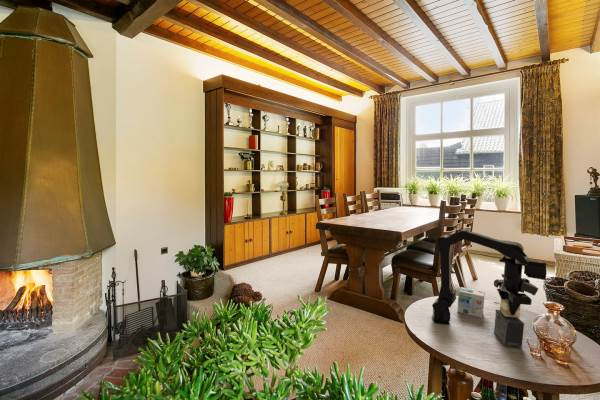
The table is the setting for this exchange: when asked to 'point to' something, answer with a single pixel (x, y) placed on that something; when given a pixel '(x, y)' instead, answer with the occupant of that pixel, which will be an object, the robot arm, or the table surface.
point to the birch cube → (505, 309)
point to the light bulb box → (471, 302)
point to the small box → (509, 330)
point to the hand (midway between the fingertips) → (509, 311)
